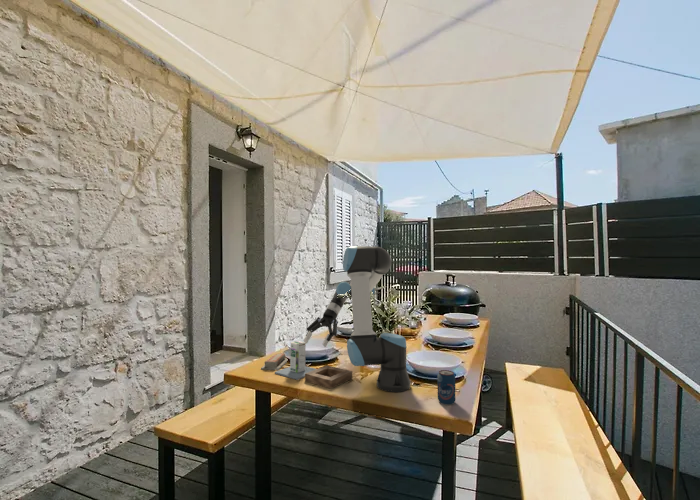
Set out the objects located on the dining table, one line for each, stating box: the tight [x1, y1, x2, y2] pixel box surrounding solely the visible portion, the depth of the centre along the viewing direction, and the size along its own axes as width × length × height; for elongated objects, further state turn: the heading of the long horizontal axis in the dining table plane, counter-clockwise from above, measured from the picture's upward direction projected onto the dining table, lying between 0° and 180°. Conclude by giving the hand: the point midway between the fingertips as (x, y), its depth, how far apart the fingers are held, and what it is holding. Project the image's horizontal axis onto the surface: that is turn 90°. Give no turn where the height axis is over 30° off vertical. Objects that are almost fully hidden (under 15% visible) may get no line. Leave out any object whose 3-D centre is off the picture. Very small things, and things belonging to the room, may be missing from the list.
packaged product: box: [260, 352, 289, 371], centre depth 191 cm, size 18×5×10 cm
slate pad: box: [274, 365, 317, 381], centre depth 178 cm, size 16×16×1 cm
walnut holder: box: [304, 364, 353, 389], centre depth 167 cm, size 16×16×4 cm
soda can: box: [437, 369, 456, 406], centre depth 141 cm, size 7×7×12 cm
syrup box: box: [289, 340, 307, 373], centre depth 178 cm, size 6×6×14 cm
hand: (314, 343), depth 187 cm, fingers open, 13 cm apart
